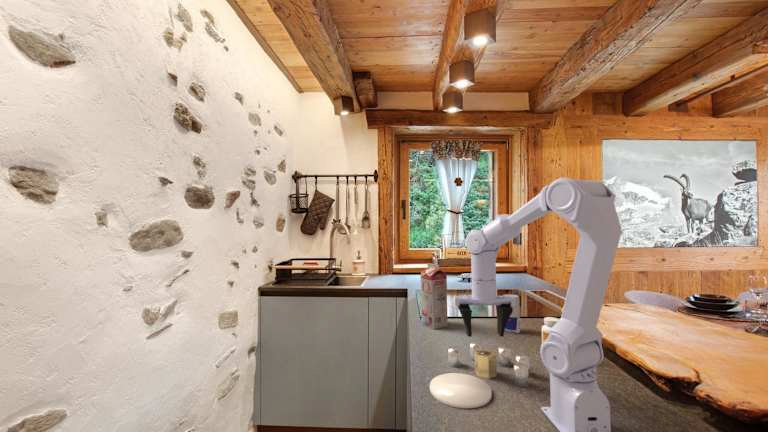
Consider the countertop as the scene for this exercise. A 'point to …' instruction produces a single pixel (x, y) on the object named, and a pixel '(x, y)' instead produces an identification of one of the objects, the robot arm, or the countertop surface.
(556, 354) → the robot arm
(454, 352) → the spacer field
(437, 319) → the juice carton
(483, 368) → the brass nut
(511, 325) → the energy drink
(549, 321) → the supplement bottle
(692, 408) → the countertop surface
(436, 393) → the ceramic plate
